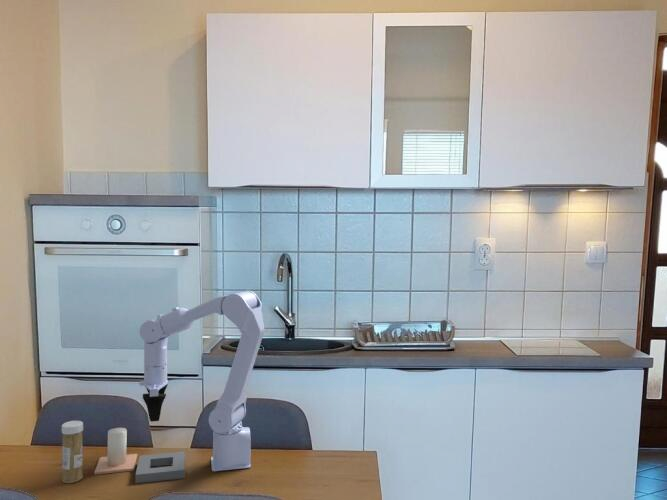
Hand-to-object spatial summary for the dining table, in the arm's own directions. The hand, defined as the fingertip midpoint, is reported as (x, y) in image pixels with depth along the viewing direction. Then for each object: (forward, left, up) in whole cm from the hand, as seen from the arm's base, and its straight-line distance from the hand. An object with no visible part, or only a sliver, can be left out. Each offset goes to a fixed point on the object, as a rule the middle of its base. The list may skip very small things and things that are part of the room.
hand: (155, 415), depth 138 cm
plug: (+9, +4, -10) cm, 14 cm away
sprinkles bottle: (+18, +10, -11) cm, 23 cm away
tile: (+9, +4, -10) cm, 14 cm away
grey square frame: (-2, +10, -10) cm, 15 cm away
